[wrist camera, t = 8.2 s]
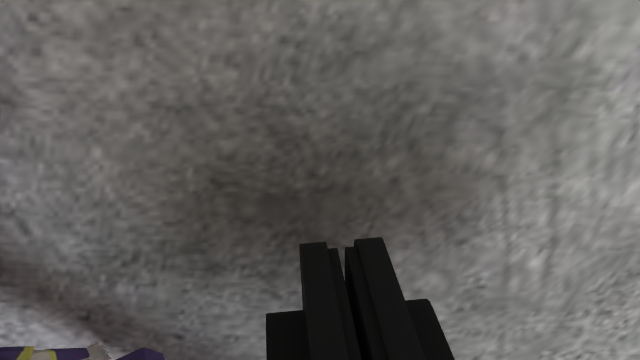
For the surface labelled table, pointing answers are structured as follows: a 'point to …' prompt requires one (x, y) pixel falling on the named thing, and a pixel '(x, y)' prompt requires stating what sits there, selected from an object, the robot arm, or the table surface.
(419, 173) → the table surface
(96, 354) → the figurine
